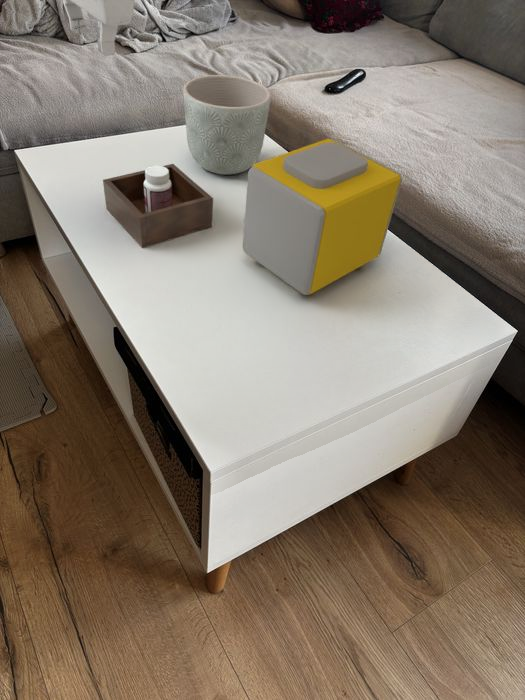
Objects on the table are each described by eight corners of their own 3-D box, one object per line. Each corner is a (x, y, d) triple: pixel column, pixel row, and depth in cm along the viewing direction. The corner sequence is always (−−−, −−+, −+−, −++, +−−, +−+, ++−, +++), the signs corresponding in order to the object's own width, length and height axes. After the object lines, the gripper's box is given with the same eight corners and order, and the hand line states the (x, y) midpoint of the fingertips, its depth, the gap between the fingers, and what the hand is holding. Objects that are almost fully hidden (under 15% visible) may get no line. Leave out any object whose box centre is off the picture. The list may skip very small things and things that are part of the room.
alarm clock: (314, 223, 103) (332, 126, 90) (380, 264, 96) (409, 164, 83) (236, 259, 93) (243, 155, 80) (302, 308, 85) (322, 202, 72)
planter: (168, 156, 117) (166, 81, 106) (233, 141, 125) (237, 69, 114) (213, 192, 108) (215, 114, 97) (279, 173, 116) (288, 99, 105)
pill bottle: (177, 213, 100) (176, 170, 94) (160, 224, 97) (158, 180, 91) (157, 204, 101) (155, 161, 95) (140, 214, 98) (136, 171, 92)
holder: (142, 248, 92) (139, 218, 88) (106, 208, 100) (102, 179, 96) (212, 226, 99) (213, 198, 95) (173, 191, 106) (173, 163, 102)
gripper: (21, -97, 71) (42, 23, 80) (87, -65, 60) (102, 70, 69) (69, -97, 74) (83, 19, 83) (139, -65, 63) (146, 64, 72)
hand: (92, 43), depth 76 cm, fingers open, 8 cm apart
